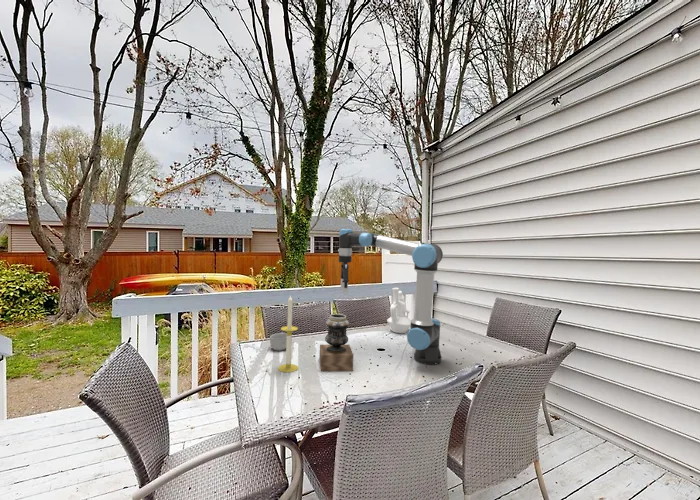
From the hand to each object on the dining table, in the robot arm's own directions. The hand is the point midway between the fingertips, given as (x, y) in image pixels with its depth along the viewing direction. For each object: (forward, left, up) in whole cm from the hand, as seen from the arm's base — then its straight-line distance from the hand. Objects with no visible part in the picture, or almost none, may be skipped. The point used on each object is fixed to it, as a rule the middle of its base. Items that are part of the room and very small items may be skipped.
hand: (344, 291), depth 203 cm
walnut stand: (+6, +24, -34) cm, 42 cm away
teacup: (+36, -2, -34) cm, 50 cm away
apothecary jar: (+6, +24, -26) cm, 36 cm away
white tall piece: (-43, -34, -34) cm, 65 cm away
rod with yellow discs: (+30, +28, -34) cm, 53 cm away
